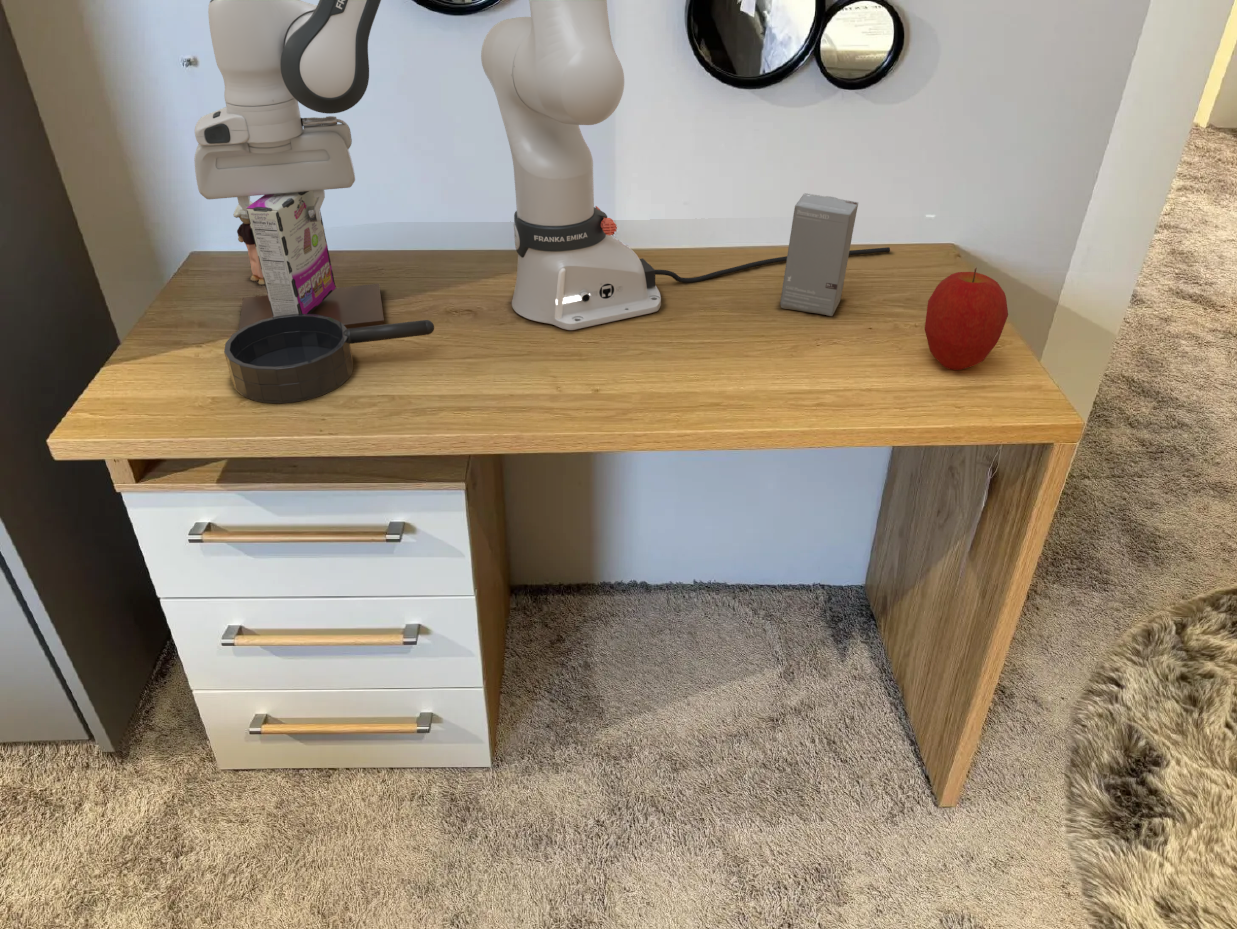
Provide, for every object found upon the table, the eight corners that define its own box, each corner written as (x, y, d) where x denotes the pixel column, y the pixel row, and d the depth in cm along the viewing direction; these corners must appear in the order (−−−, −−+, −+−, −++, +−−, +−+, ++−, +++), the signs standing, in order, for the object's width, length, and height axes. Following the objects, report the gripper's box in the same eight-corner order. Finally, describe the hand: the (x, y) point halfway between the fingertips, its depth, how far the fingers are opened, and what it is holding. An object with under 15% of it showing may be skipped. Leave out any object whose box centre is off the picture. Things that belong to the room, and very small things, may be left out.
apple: (1008, 379, 126) (1034, 281, 118) (935, 385, 125) (957, 286, 117) (972, 343, 134) (994, 248, 126) (904, 348, 133) (922, 253, 125)
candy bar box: (306, 286, 144) (284, 178, 135) (337, 289, 144) (317, 180, 134) (269, 318, 135) (243, 206, 126) (302, 322, 135) (278, 208, 125)
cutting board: (380, 292, 148) (378, 283, 147) (385, 329, 138) (383, 319, 137) (245, 306, 144) (242, 297, 143) (239, 346, 134) (237, 336, 133)
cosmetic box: (779, 309, 143) (789, 206, 134) (790, 290, 149) (801, 190, 140) (835, 318, 141) (850, 213, 132) (845, 299, 146) (859, 197, 137)
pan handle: (434, 329, 130) (432, 316, 129) (435, 336, 129) (434, 322, 127) (343, 340, 128) (341, 326, 127) (344, 347, 126) (341, 333, 125)
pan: (351, 340, 135) (345, 308, 132) (355, 394, 123) (349, 360, 120) (237, 353, 132) (228, 320, 129) (229, 410, 120) (220, 375, 117)
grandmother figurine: (287, 279, 152) (271, 201, 145) (268, 288, 149) (250, 209, 142) (255, 269, 156) (237, 192, 148) (235, 277, 153) (216, 200, 146)
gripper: (347, 108, 129) (363, 208, 137) (186, 119, 125) (212, 221, 133) (348, 121, 124) (364, 224, 132) (181, 133, 120) (208, 238, 128)
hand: (287, 223), depth 133 cm, fingers closed on candy bar box, 6 cm apart
